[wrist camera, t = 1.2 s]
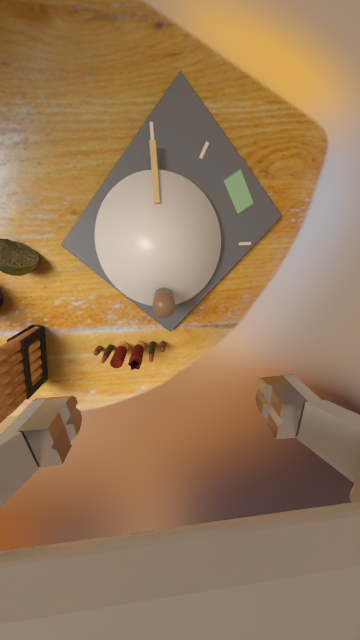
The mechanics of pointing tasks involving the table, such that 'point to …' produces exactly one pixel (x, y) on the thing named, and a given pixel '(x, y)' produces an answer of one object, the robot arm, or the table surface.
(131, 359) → the ammunition
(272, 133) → the table surface
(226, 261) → the dial plate
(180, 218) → the dial
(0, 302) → the salt shaker
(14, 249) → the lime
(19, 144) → the table surface
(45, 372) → the ammunition clip
